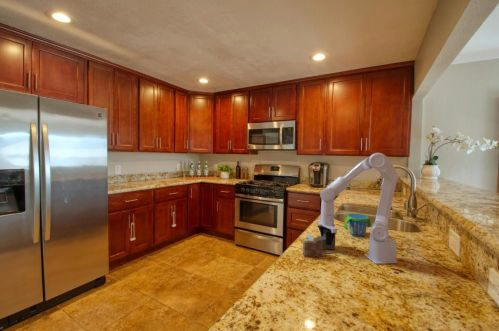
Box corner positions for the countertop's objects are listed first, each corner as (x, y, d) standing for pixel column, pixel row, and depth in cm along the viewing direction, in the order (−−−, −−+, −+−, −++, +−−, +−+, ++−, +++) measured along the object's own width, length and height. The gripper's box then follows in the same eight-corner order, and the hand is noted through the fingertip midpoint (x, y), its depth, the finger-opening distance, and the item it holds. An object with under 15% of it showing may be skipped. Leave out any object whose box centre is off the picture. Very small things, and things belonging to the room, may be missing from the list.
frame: (347, 251, 100) (347, 236, 99) (351, 255, 96) (352, 239, 96) (301, 253, 97) (302, 237, 97) (304, 257, 94) (305, 240, 94)
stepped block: (331, 245, 106) (331, 232, 106) (335, 248, 102) (335, 235, 102) (316, 245, 105) (317, 233, 105) (320, 249, 101) (320, 236, 101)
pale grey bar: (320, 251, 99) (320, 243, 98) (316, 252, 98) (316, 243, 98) (308, 241, 110) (308, 233, 110) (304, 241, 110) (304, 233, 110)
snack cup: (349, 238, 115) (350, 219, 114) (338, 231, 125) (339, 213, 125) (376, 237, 117) (377, 218, 117) (363, 230, 128) (364, 212, 127)
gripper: (312, 210, 110) (312, 237, 110) (326, 218, 95) (325, 249, 96) (326, 209, 110) (325, 236, 111) (341, 218, 96) (340, 249, 97)
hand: (326, 242), depth 104 cm, fingers closed on stepped block, 4 cm apart
